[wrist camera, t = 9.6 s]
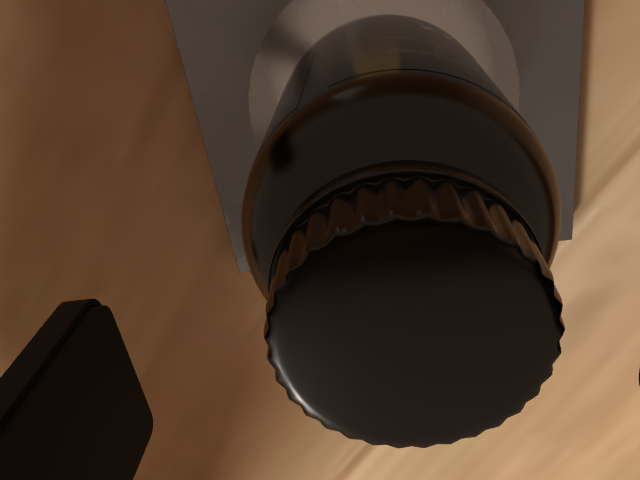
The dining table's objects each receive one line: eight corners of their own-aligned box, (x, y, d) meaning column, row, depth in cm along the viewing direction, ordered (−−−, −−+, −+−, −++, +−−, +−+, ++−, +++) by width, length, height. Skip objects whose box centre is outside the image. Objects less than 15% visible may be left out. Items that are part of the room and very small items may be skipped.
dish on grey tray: (564, 227, 24) (587, 265, 22) (243, 260, 26) (229, 298, 24) (583, -173, 18) (619, -187, 15) (151, -88, 20) (118, -87, 17)
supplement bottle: (419, 236, 22) (466, 536, 11) (252, 156, 21) (136, 407, 10) (532, 71, 19) (741, 281, 8) (342, -35, 17) (304, 52, 7)
